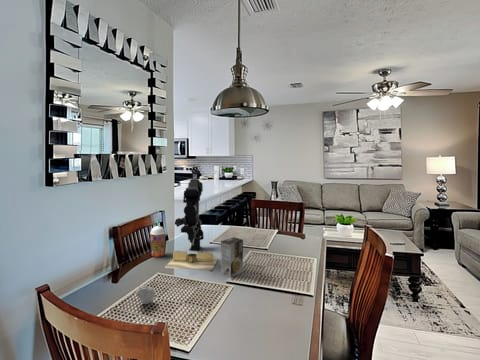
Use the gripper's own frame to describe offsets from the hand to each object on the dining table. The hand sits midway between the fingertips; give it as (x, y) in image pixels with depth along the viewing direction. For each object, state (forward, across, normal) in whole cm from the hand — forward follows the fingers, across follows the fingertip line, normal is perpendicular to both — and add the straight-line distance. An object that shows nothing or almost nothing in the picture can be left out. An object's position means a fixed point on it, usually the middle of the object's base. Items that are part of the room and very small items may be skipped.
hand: (191, 242), depth 151 cm
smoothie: (+11, -6, -21) cm, 24 cm away
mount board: (+11, +3, +1) cm, 11 cm away
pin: (+1, 0, 0) cm, 1 cm away
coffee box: (+11, +12, +23) cm, 28 cm away
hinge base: (+10, 0, -4) cm, 11 cm away
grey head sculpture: (+11, +45, -5) cm, 47 cm away
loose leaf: (+10, 0, +7) cm, 12 cm away
